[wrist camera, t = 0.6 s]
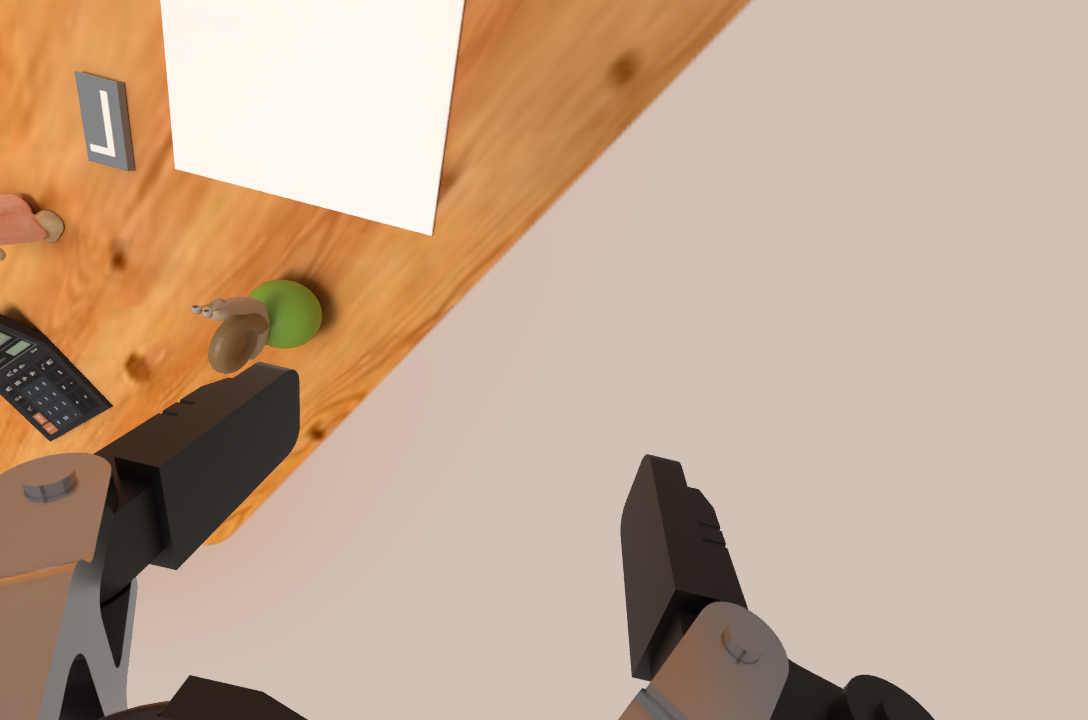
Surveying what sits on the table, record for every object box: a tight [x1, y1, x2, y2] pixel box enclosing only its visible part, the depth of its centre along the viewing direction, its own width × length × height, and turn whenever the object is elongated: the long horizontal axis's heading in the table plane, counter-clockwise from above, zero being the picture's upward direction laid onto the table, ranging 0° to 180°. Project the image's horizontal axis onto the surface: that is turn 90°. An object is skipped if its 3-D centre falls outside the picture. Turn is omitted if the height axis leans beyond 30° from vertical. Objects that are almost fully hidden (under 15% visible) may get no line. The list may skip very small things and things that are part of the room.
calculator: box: [0, 314, 113, 441], centre depth 44 cm, size 9×12×3 cm
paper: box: [161, 0, 465, 236], centre depth 32 cm, size 18×20×1 cm
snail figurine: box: [191, 280, 322, 374], centre depth 34 cm, size 5×6×12 cm
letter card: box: [75, 71, 135, 171], centre depth 35 cm, size 6×3×1 cm, turn 166°
